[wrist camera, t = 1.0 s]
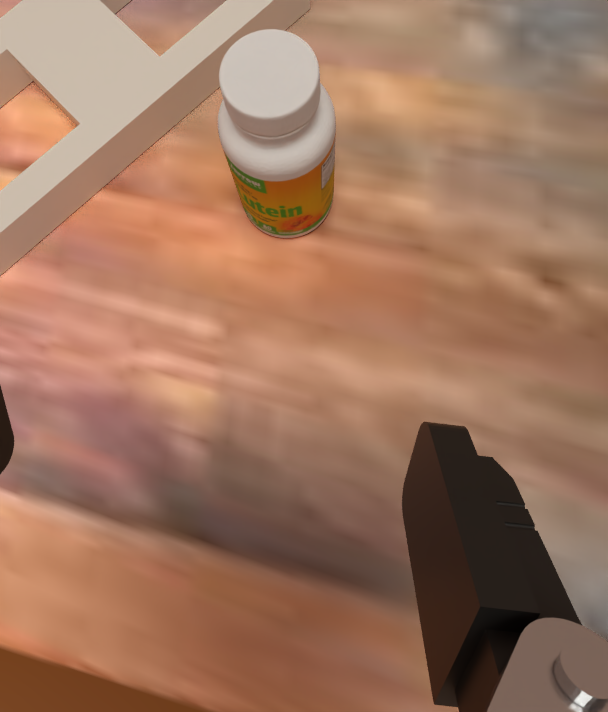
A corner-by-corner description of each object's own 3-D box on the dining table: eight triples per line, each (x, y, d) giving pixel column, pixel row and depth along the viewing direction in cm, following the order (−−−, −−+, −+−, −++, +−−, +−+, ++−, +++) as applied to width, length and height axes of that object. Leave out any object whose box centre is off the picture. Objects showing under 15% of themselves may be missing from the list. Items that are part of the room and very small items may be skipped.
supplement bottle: (232, 229, 28) (182, 118, 18) (256, 148, 28) (221, 1, 19) (320, 249, 27) (317, 147, 18) (343, 167, 28) (352, 26, 18)
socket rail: (197, -87, 32) (187, -132, 29) (310, 8, 30) (308, -30, 27) (-109, 162, 29) (-149, 137, 27) (-7, 281, 28) (-39, 266, 25)
